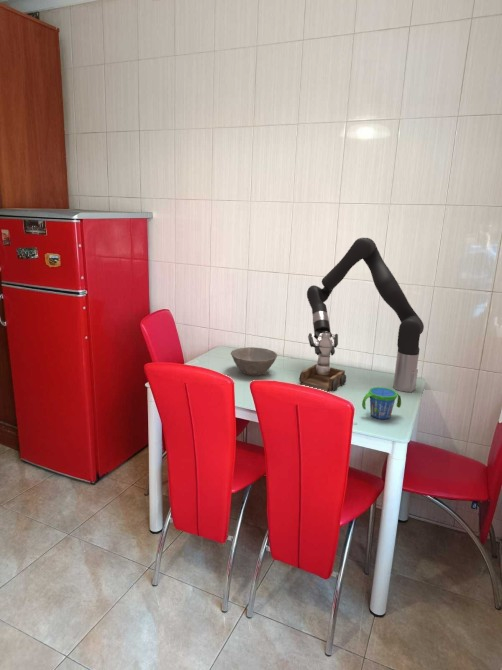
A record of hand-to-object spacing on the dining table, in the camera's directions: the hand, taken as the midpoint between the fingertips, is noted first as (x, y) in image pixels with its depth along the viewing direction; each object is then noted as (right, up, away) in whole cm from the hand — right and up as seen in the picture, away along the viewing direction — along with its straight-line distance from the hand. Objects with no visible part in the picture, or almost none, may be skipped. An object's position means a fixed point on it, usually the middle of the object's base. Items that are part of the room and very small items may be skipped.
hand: (325, 354), depth 210 cm
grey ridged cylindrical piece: (-1, -10, +4) cm, 11 cm away
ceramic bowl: (-33, -10, +16) cm, 38 cm away
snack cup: (+17, -23, -28) cm, 40 cm away
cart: (-2, -14, +3) cm, 15 cm away
